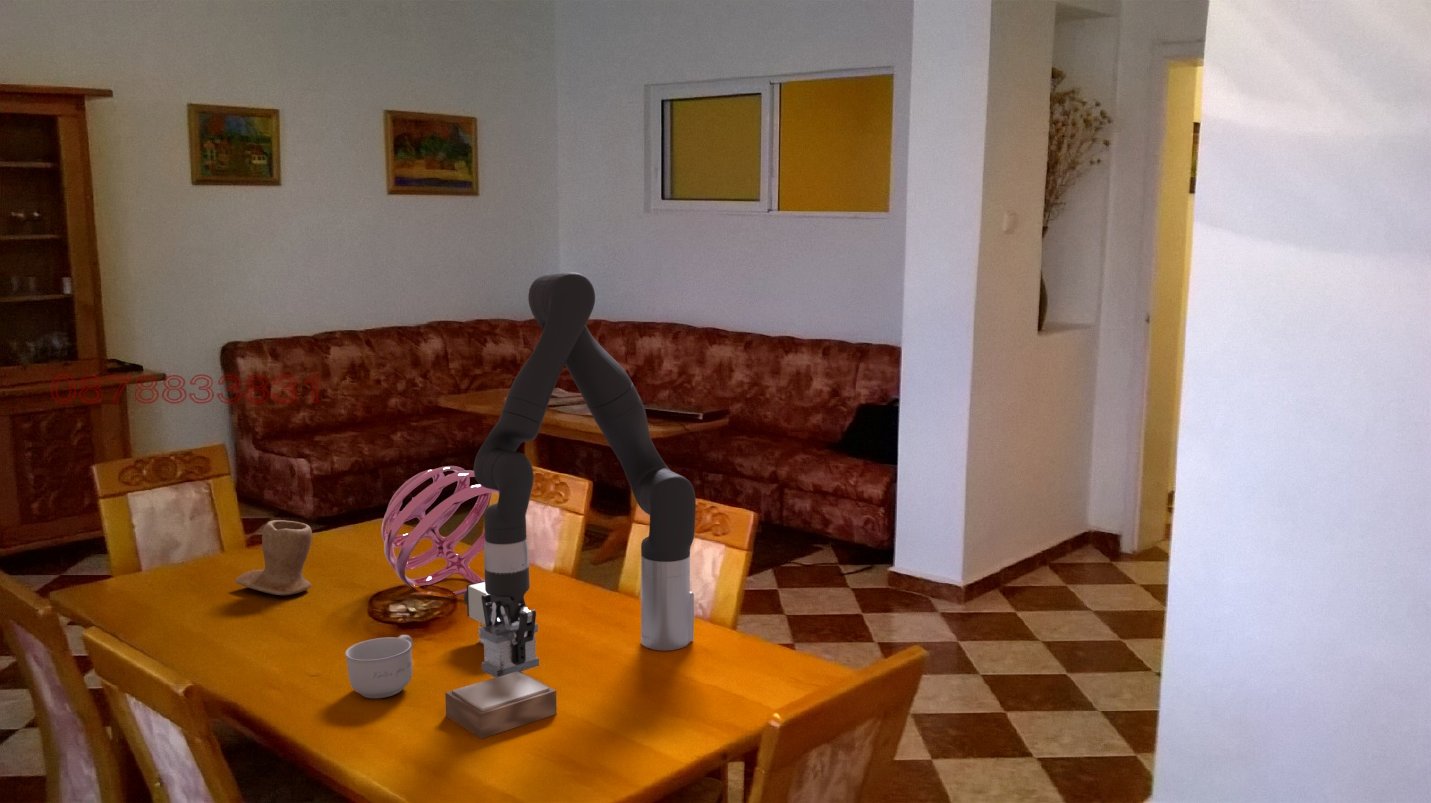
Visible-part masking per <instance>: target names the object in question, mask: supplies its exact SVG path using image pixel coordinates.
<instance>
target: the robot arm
mask: <svg viewBox="0 0 1431 803" xmlns="http://www.w3.org/2000/svg"><path fill="white" fill-rule="evenodd" d="M527 299H528V305H529V308H530V312H531V313H532V315H533V317H534V319H535V321H536V322H537V324H538V325H539V326H540V328H541V330H542V334H541V336H540V338H539V341H538V342H537V343H536V346H535V347H534V349H533V351H532V353H531V354H530V355H529V357H528V359H527V360H526V361H525V363H524V365H523V366H522V367H521V368H520V370H519V372H518V374H517V375H516V376H515V378H514V380H513V382H512V384H511V386H510V388H509V390H508V393H507V396H506V398H505V402H504V405H503V407H502V409H501V413H500V414H499V419H498V421H497V423H496V424H495V425H494V426H493V428H492V429H491V430H490V432H489V434H488V435H487V437H486V438H485V440H484V441H483V443H482V445H481V446H480V448H479V449H478V452H477V454H476V456H475V458H474V463H473V471H474V476H475V477H474V478H475V481H476V482H477V484H480V485H481V486H483V487H485V488H489V489H493V490H497V491H499V494H498V498H497V502H496V503H492V504H491V505H489V506H487V507H486V509H485V511H484V513H483V514H484V516H483V517H484V518H483V527H484V529H483V530H484V532H485V547H484V548H483V562H484V564H483V565H484V580H485V590H486V592H487V593H488V594H485V595H482V597H481V599H482V605H483V611H484V617H485V623H486V627H487V626H490V625H498V624H501V623H505V625H506V630H507V631H508V632H511V640H512V643H513V644H512V659H513V664H515V665H519V664H522V663H524V662H525V660H526V653H525V652H526V651H525V643H526V642H529V641H532V640H533V637H534V628H535V623H536V621H537V620H536V619H537V618H536V617H537V612H536V609H534V608H532V609H530V610H529V609H528V607H526V606H527V605H526V604H527V603H526V602H525V595H526V593H527V592H528V591H529V590H530V587H531V586H530V585H531V584H530V583H531V582H530V558H529V557H530V556H529V546H528V541H527V519H526V518H527V517H526V515H527V510H528V509H529V508H528V507H529V504H530V499H531V494H532V490H533V484H534V477H535V476H534V469H533V465H532V462H531V461H530V459H529V457H528V456H527V455H525V453H522V452H518V451H517V449H518V448H519V447H520V446H521V444H523V443H526V442H530V441H533V440H535V439H536V438H537V436H538V435H539V432H540V430H541V429H540V428H541V426H542V424H543V420H544V418H545V415H546V412H547V409H548V406H549V404H550V400H551V397H552V394H553V392H554V390H555V387H556V384H557V382H558V380H559V378H560V377H561V376H560V375H561V373H562V371H563V369H564V367H566V369H567V371H568V373H569V374H570V377H571V378H572V379H573V382H574V383H575V385H576V387H577V389H578V391H579V392H580V394H581V397H582V398H583V401H584V402H585V405H586V407H587V408H588V410H589V412H590V414H591V415H592V418H593V419H594V422H595V423H596V425H597V426H598V427H599V430H600V431H601V433H602V435H603V436H604V439H605V440H606V441H607V443H608V444H609V445H608V446H610V448H611V450H612V451H613V453H614V454H615V456H616V457H617V459H618V460H619V463H620V464H621V467H622V469H623V471H624V474H625V477H626V479H627V481H628V484H629V486H630V489H631V491H632V495H633V496H634V499H635V501H636V503H637V504H638V506H639V508H640V509H641V511H643V512H644V513H646V514H647V515H648V516H649V529H648V530H649V531H648V536H646V537H644V538H643V539H642V541H641V543H640V571H641V573H640V590H641V591H640V610H641V611H640V643H641V645H642V646H644V648H648V649H651V650H654V651H655V650H657V651H675V650H679V649H682V648H683V649H684V647H687V646H688V645H689V644H690V642H693V641H694V634H695V633H694V632H695V630H694V628H695V626H694V624H695V622H694V621H695V620H694V619H695V616H694V614H695V611H694V610H695V609H694V608H695V603H694V602H695V594H694V592H693V591H691V547H692V545H693V542H694V539H695V532H696V530H695V528H696V527H695V526H696V513H697V512H696V508H697V507H696V506H697V503H696V502H697V501H696V500H697V498H696V492H695V489H694V486H693V484H692V483H691V481H690V480H689V479H687V478H686V477H685V476H683V475H681V474H679V473H676V472H674V471H672V469H670V468H669V467H668V466H667V464H666V463H665V461H664V459H662V458H663V457H661V455H660V453H659V452H658V450H657V448H656V447H655V445H654V443H653V441H652V438H651V435H650V434H651V433H650V429H649V424H648V417H647V413H646V408H645V405H644V403H643V401H642V399H641V396H640V394H639V393H638V390H637V388H636V387H635V385H634V383H633V381H632V379H631V378H630V376H629V375H628V373H627V371H626V370H625V368H623V367H622V365H620V364H619V362H618V361H617V360H616V359H615V358H614V357H613V356H612V355H610V353H609V352H608V351H607V350H605V349H604V347H603V346H601V345H600V343H599V342H598V341H597V340H596V338H594V336H593V335H592V333H591V332H590V329H589V328H588V326H587V323H588V320H589V319H590V317H591V314H592V312H593V310H594V308H595V303H596V292H595V288H594V286H593V284H592V282H591V281H590V279H588V278H587V276H586V275H583V274H581V273H579V272H573V271H568V272H557V273H556V272H555V273H549V274H543V275H542V276H539V277H536V279H535V280H534V281H533V282H532V283H531V285H530V287H529V290H528V298H527ZM484 532H483V533H484ZM490 614H492V616H491V619H490ZM516 622H519V624H518V625H515V626H513V625H512V624H513V623H516ZM516 630H518V637H517V635H516ZM526 631H528V633H527V634H526Z"/></svg>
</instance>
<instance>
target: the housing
mask: <svg viewBox="0 0 1431 803" xmlns="http://www.w3.org/2000/svg"><path fill="white" fill-rule="evenodd" d="M518 624H519V622H516V623H513V624H512V625H513V626H515V625H518ZM538 626H539V624H538V623H537V622H535V628H534V637H533V640H532V641H529V642H526V643H525V651H526V652H525V653H526V660H525V662H524V663H522V664H519V665H515V664H513V659H512V644H513V643H512V640H511V632H508V631H507V630H506V625H505V623H501V624H498V625H490V626H487V627H483V628H480V636H481V637H483V638H484V645H483V653H484V654H483V655H484V656H483V657H484V658H483V659H484V661H482V662H481V671H482V672H484V673H486V674H487V675H489V676H491V677H493V678H496V677H500V676H503V675H506V674H510V673H513V672H517V671H521V672H523V671H527V670H530V669H532V668H536V667H539V666H540V658H539V656H538V657H537V656H536V655H537V654H536V653H537V652H536V651H537V650H536V647H537V646H536V633H538V632H539V627H538ZM527 633H528V631H526V634H527ZM516 635H517V637H518V630H516Z"/></svg>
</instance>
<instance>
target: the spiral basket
mask: <svg viewBox="0 0 1431 803" xmlns="http://www.w3.org/2000/svg"><path fill="white" fill-rule="evenodd" d="M447 471H453V473H449V474H447V475H446V476H445V474H444V472H447ZM431 478H432V480H433V482H432V483H430V484H429V485H428V486H426V488H424V489H423V490H421V492H419V493H417V495H415V496H414V497H413V496H412V497H411V500H410V501H409V502H408V503H407V504H406V505H405V507H403V509H402V510H401V511H400V509H401V507H402V505H403V500H404V499H405V498H406V497H407V496H408V495H409V494H410V493H411V492H412V491H413V490H415V489H416V488H417V487H419V486H420V485H422V484H423V483H424V482H425V481H427V480H429V479H431ZM470 478H475V476H474V470H471V469H469V470H465V468H462V467H460V466H456V465H447V466H441V467H438V468H437V467H436V468H434V469H427V470H424V471H421V472H419V473H417V474H415V475H413V476H412V477H411V478H409V479H407V480H406V481H405V482H404V483H403V484H402V485H401V486H400V487H399V488H398V489H397V490H396V491H395V493H394V494H393V495H392V497H391V499H390V501H389V503H388V506H387V508H386V511H385V514H384V517H383V520H382V523H381V537H382V539H383V542H384V543H383V544H384V545H383V547H384V548H383V551H384V555H385V558H386V560H387V562H388V563H389V565H390V566H391V567H392V569H393V571H394V572H395V573H396V575H397V576H398V578H399V579H400V580H401V581H402V582H403V583H404V584H405V585H407V586H408V587H410V586H415V585H428V586H432V585H434V584H437V583H438V582H439V583H440V582H441V581H443V580H445V579H447V578H449V577H451V576H452V575H455V574H457V575H460V576H461V577H463V578H464V579H465V580H467V581H469V582H470V583H471V584H473V583H478V582H482V581H485V578H484V579H483V578H482V577H480V576H479V575H478V574H477V573H475V572H474V570H472V569H471V568H470V565H469V564H470V562H472V561H473V559H474V558H475V557H477V555H478V554H480V553H481V551H482V550H484V547H485V532H483V533H482V534H481V535H480V537H479V538H477V540H476V541H475V542H474V543H473V544H472V545H471V546H470V547H469V548H468V549H467V550H466V551H464V552H463V553H462V554H461V553H460V554H457V553H456V552H455V547H456V545H458V543H459V542H460V541H461V540H463V538H465V537H466V536H467V535H468V533H469V532H470V531H471V530H472V529H473V528H474V527H475V525H476V524H477V523H478V522H479V520H480V518H481V517H482V515H483V514H484V513H485V510H486V509H487V508H488V504H489V501H490V498H491V497H492V496H491V494H492V493H494V494H498V495H499V491H497V490H493V489H489V488H485V487H483V486H481V485H480V484H479V483H477V484H473V485H470ZM455 482H457V484H456V485H457V486H456V488H455V490H454V492H453V494H451V495H450V496H449V497H447V498H446V499H444V500H442V501H441V502H440V503H439V504H437V505H436V506H435V507H434V508H433V509H431V510H430V511H429V512H428V513H427V514H426V510H427V509H428V508H429V507H431V505H432V504H433V503H434V502H435V501H436V500H437V498H439V496H440V494H441V493H442V491H443V489H444V488H446V487H447V486H449V485H451V484H452V483H455ZM477 496H478V498H477V500H476V502H475V504H474V506H473V507H472V509H471V510H470V512H469V514H468V515H467V516H466V517H465V518H464V520H463V521H462V522H461V523H460V524H459V525H458V527H457V528H456V529H454V530H453V531H452V532H451V533H449V535H447V536H442V535H441V533H440V532H439V529H440V528H441V527H442V525H444V524H445V523H446V522H447V521H448V520H449V519H450V518H451V517H452V516H453V515H454V514H455V512H456V511H457V509H459V507H460V506H461V504H463V503H464V502H466V501H468V500H469V499H473V498H475V497H477ZM414 518H417V519H418V520H419V522H418V524H416V526H415V527H414V528H413V529H412V531H410V532H408V533H405V534H401V535H398V533H399V532H400V530H401V528H402V526H404V524H405V522H407V521H410V520H412V519H414ZM387 525H388V526H387ZM423 539H429V541H430V542H431V543H432V546H431V548H429V549H428V550H426V551H424V552H422V553H420V554H418V555H415V556H412V557H411V555H412V553H413V551H414V549H415V548H416V547H417V545H418V544H419V542H420V541H421V540H423ZM394 548H400V549H399V552H398V555H397V557H396V554H395V551H394V550H395V549H394ZM440 558H442V559H444V560H445V562H446V565H445V566H444V567H443V568H441V569H439V570H437V571H434V572H433V573H430V574H429V575H426V576H423V577H418V578H409V577H408V576H407V575H406V570H407V571H408V570H413V569H417V568H419V567H422V566H425V565H428V564H429V563H432V562H433V561H434V560H437V559H440ZM466 591H467V587H466V588H463V589H461V590H460V589H459V590H456V591H452V592H453V593H455V594H456V596H455V597H457V596H462V595H465V593H466Z"/></svg>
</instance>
